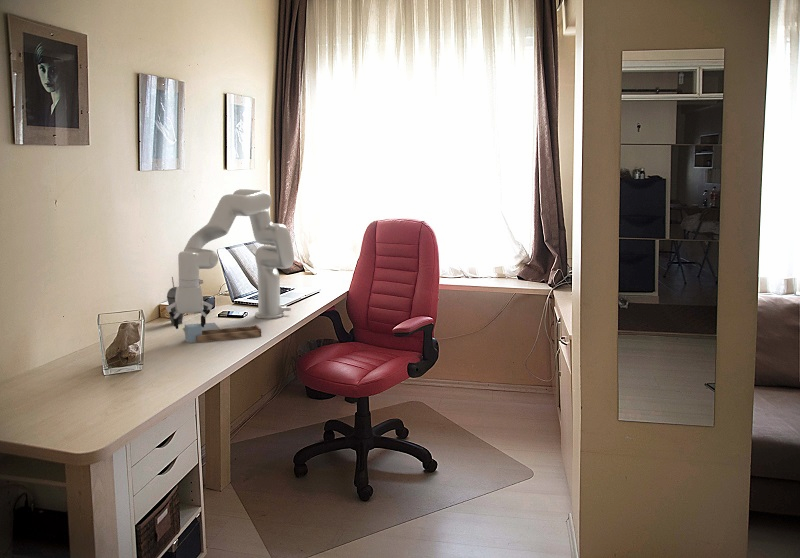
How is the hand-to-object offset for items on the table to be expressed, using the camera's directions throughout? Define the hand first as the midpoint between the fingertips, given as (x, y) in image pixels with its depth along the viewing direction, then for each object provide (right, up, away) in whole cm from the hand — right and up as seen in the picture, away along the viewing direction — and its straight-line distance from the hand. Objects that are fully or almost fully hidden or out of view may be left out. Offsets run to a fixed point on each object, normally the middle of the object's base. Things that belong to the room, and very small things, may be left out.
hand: (189, 327), depth 277 cm
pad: (0, -2, +18) cm, 18 cm away
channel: (+13, -4, +7) cm, 15 cm away
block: (+1, -5, +1) cm, 5 cm away
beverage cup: (-14, 0, +28) cm, 31 cm away
